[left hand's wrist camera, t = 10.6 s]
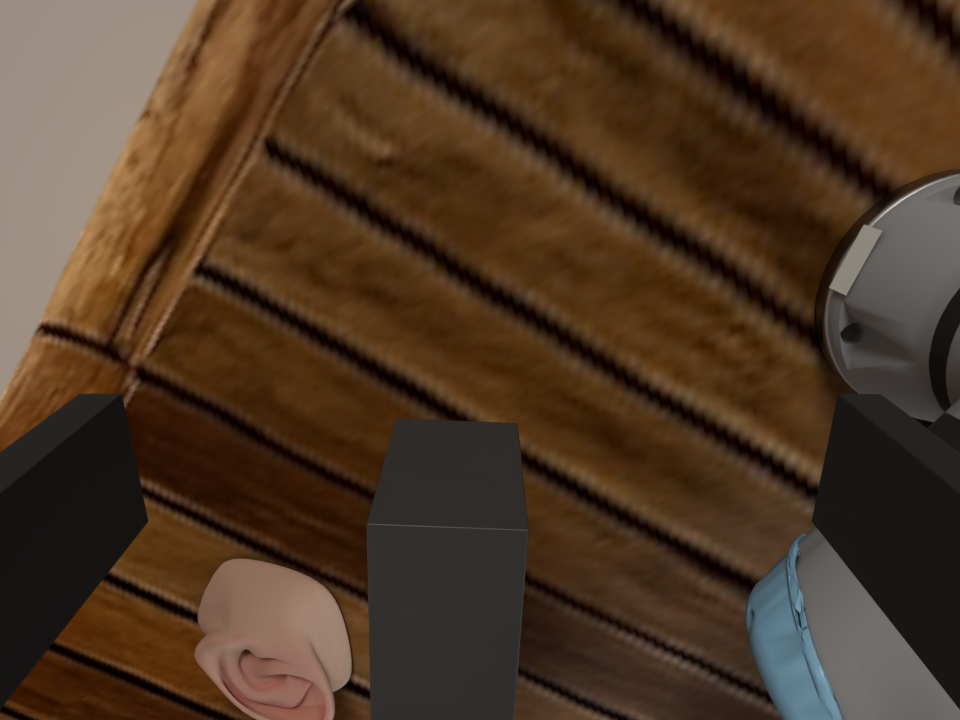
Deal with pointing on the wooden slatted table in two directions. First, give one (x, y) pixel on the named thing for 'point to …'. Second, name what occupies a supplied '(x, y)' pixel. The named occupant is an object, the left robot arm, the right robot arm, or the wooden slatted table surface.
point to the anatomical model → (273, 641)
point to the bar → (447, 572)
